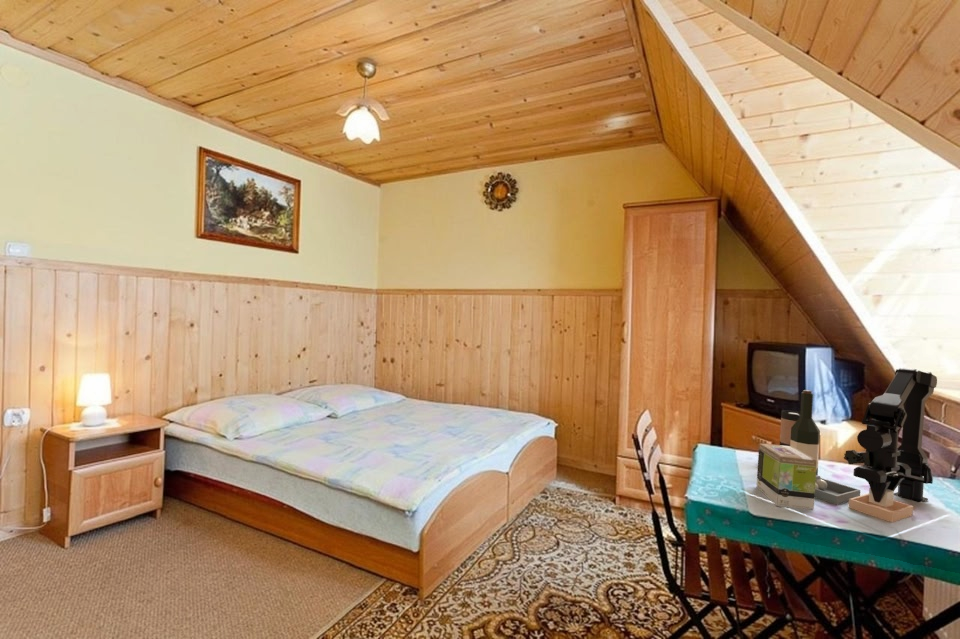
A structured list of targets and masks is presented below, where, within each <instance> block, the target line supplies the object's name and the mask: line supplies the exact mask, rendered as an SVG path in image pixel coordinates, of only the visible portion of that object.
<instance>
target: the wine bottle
mask: <svg viewBox="0 0 960 639" xmlns="http://www.w3.org/2000/svg"><path fill="white" fill-rule="evenodd" d="M813 401H814V393H812V390H808V389H804V390H802V392H801V394H800V411H799V412H800V417H799V419H798V420H797V421H796V422H795V424H794V425H793V426H792V427H791V441H790V446H792V447H794V448H796V449H798V450H799V451H801V452H803V453H805V454H807V455H809V456H810V457H812V458H814V459H816V460H817V467H816V475H817V476H819V456H820V454H819V453H820V451H819V450H820V436H821V435H820V434H821V430H820V429H819V427H818V426H817V424H816V422H815V421H814V419H813V404H814V403H813Z"/></svg>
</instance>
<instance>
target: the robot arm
mask: <svg viewBox="0 0 960 639" xmlns="http://www.w3.org/2000/svg"><path fill="white" fill-rule="evenodd" d="M937 385H938V377H937V376H936V375H934V374H933V373H932V372H931V371H923V370H922V371H921V370H918V369H915V368H907V367H906V368H905V367H899V368H896V369H895V372H894V377H893V378H892V380H891V382H890V383H889V385H888V387H887V388H886V390H885V391H884V392H883V394H881V395H878V396H875V397H874V398H873V399H872V400H871V401H870V403H868V405H867V406H866V410H865V412H864V416H863V418H862V421H861V425H866V429H862V430H861V431H860V432H858V434H857V436H856V439H857V442H858V444H859V445H860V447H862V448H863V449H864V451H856V450H855V449H849V450H845V453H844V457H843V459H844V460H845V461H847V463H848V465H854V464H855V465H856V464H862V465H858V466H857V467H855V468H853V474H852V475H853V477H856V478H860V479H862V480H865V481H866V482H867V483H868V485H869V488H871V491H872V495H873V498H874V501H875V502H878V503H879V502H880V501H881V499H882V498H883V496H884V494H885V492H886V490H887V489H889V490H892V491H894V496H896V497H900V498H903V499H906V500H910V501H913V502H915V503H916V502H917V503H921V502H922V503H923V502H926V501H929V498H927V497H925V496H924V488H925V486H924V484H926V485H928V484H933V481H934V477H933V476H934V475H933V472H932V469H931V466H930V464H929V463H928V462H929V458H928V455H927V454H926V453H925V450H924V449H923V448H922V447H923V446H922V445H923V435H924V434H923V433H924V422H925V420H924V419H925V408H926V400H928V399H929V398H930V397H931V396H932V395H933V394H934V391H935V388H937ZM901 428H902V433H901V442H900V445H899V430H900V429H901ZM898 445H899V446H898ZM863 464H864V465H863ZM896 489H897V492H895V490H896Z"/></svg>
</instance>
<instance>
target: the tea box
mask: <svg viewBox="0 0 960 639" xmlns="http://www.w3.org/2000/svg"><path fill="white" fill-rule="evenodd" d="M757 456H758V457H757V458H758V459H757V475H756V488H757V489H758V491H759V490H760V492H762V493H763V494H764V495H765V496H766V497H767V498H768V499H769V500H770V501H771V502H772V503H773V504H774V505H776V507H780V508H789V509H790V508H797V509H798V508H799V509H809V510H814V509H815V497H814V495H815V482H816V467H817V460H816V459H814V458H812V457H810V456H809V455H807V454H805V453H803V452H801V451H799V450H798V449H796V448H794V447H792V446H783V445H780V444H772V443H771V444H770V443H758V455H757Z"/></svg>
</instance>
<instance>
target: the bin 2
mask: <svg viewBox="0 0 960 639" xmlns="http://www.w3.org/2000/svg"><path fill="white" fill-rule="evenodd" d="M848 509H851V510H855V511H858V512H861V513H864V514H866V515H869V516H872V517H874V518H877V519H880V520H884V521H886V522H889V523H895V522H898V521H900V520H901V521H902V520H903V519H906V518H909V517H912V516H913V515H914V506H913V505H911V504H907V503H904V502H901V501H897V500H895V499H893V505H891V506H888V507H884V506H881V505H878V504H875V503H871V502H869V493H866V494H862V495H860V496H858V497H854V498H851V499H849V502H848Z"/></svg>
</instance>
